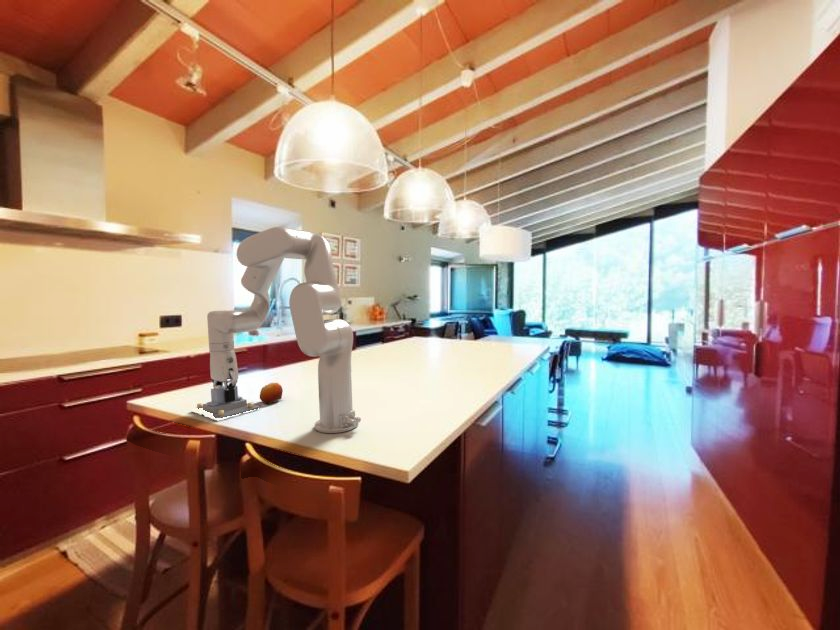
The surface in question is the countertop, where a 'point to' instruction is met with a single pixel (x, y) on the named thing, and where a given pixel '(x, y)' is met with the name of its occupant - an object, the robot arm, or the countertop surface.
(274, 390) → the fruit
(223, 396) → the servo
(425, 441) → the countertop surface
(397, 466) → the countertop surface
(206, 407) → the chassis
